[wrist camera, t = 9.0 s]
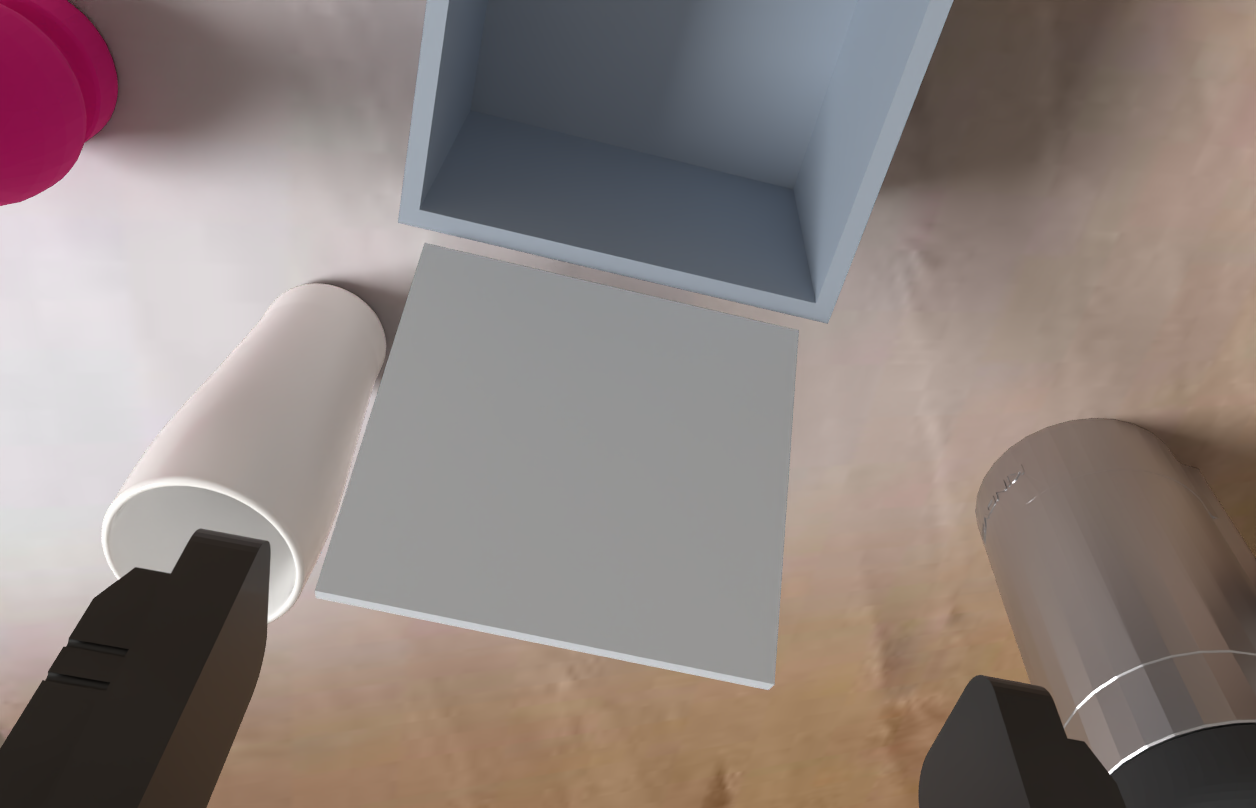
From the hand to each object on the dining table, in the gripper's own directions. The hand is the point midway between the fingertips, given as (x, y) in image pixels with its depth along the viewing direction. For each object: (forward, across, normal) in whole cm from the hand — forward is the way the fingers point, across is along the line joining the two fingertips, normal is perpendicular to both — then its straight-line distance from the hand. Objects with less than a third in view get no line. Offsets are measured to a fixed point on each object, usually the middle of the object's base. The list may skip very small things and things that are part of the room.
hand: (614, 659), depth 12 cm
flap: (+22, 0, +6) cm, 23 cm away
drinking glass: (+33, +11, +18) cm, 39 cm away
